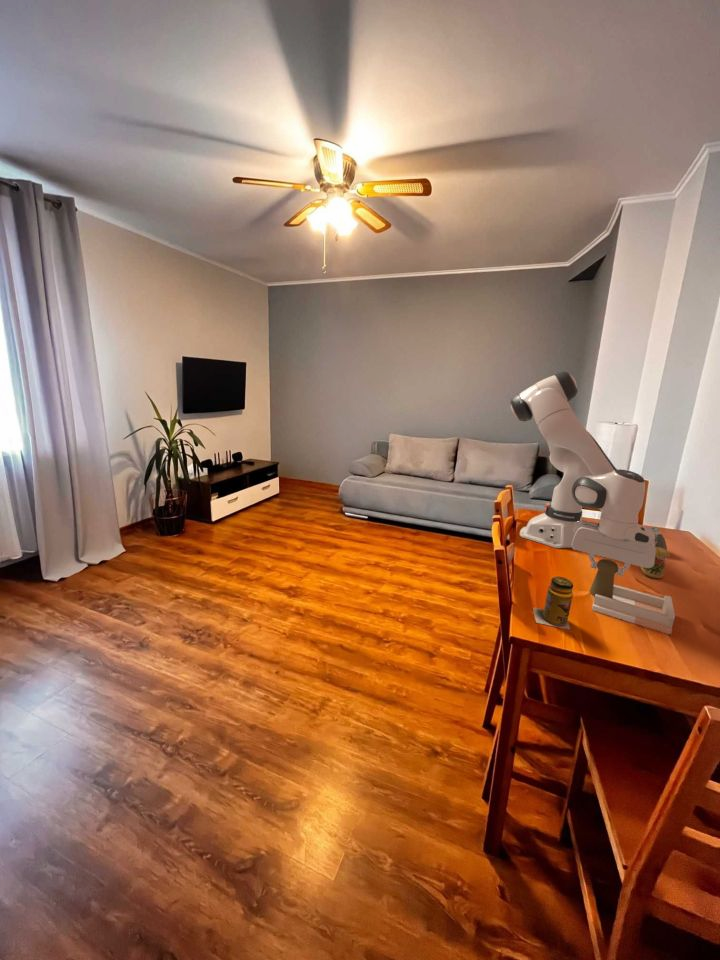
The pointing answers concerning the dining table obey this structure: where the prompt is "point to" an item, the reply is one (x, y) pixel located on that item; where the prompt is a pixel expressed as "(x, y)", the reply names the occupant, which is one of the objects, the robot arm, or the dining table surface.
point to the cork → (604, 578)
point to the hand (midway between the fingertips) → (606, 571)
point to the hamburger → (657, 563)
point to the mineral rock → (658, 538)
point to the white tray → (637, 608)
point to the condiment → (556, 604)
